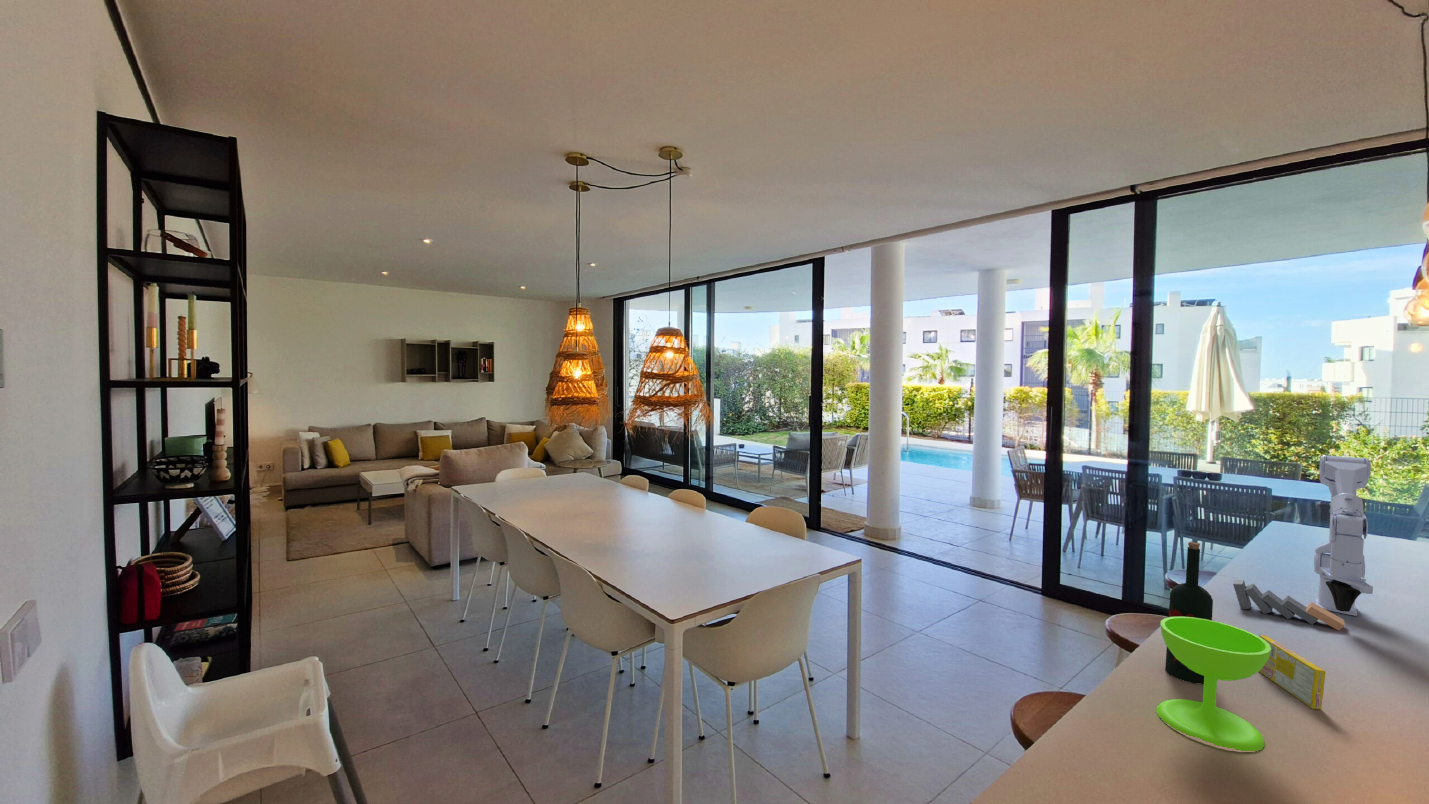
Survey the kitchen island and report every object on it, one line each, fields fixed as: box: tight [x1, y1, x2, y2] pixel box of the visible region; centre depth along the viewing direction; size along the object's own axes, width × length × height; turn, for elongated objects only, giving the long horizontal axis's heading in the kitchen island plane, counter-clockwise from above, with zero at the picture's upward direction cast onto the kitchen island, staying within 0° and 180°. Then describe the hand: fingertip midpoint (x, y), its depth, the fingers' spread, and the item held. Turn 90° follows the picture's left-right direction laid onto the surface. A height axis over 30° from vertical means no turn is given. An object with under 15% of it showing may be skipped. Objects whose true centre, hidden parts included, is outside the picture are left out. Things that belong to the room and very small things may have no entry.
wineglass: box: [1155, 616, 1271, 752], centre depth 111 cm, size 16×16×18 cm
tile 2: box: [1282, 595, 1319, 626], centre depth 161 cm, size 5×2×7 cm
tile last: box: [1232, 579, 1252, 610], centre depth 169 cm, size 5×2×7 cm, turn 134°
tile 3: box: [1261, 589, 1296, 620], centre depth 164 cm, size 5×2×7 cm
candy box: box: [1258, 634, 1326, 710], centre depth 125 cm, size 16×2×8 cm, turn 168°
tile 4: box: [1245, 583, 1274, 615], centre depth 167 cm, size 5×2×7 cm
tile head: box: [1305, 601, 1345, 632], centre depth 157 cm, size 5×2×7 cm
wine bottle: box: [1164, 541, 1214, 685], centre depth 129 cm, size 8×10×30 cm
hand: (1342, 610), depth 155 cm, fingers closed
